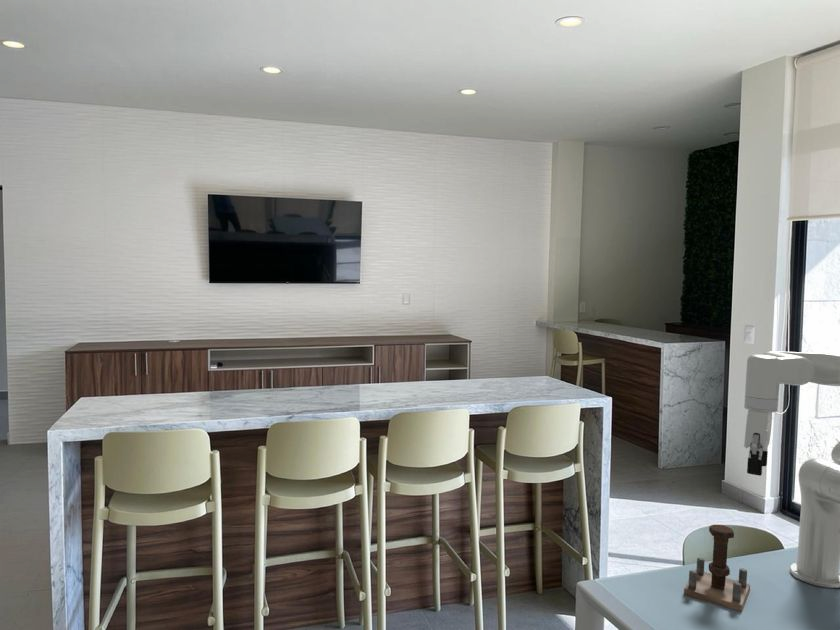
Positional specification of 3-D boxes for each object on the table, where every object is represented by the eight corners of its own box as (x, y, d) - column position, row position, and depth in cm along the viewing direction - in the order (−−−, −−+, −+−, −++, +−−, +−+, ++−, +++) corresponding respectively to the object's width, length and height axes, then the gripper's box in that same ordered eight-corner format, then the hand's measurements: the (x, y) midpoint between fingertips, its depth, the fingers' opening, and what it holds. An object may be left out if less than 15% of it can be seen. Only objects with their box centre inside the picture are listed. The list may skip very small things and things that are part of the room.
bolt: (732, 593, 156) (736, 534, 155) (710, 590, 157) (714, 531, 156) (725, 582, 162) (729, 524, 161) (704, 579, 163) (707, 522, 162)
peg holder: (695, 575, 169) (696, 554, 168) (749, 590, 161) (751, 569, 161) (683, 594, 158) (685, 573, 158) (741, 611, 151) (743, 589, 150)
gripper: (749, 396, 170) (745, 459, 172) (739, 406, 156) (735, 475, 157) (781, 400, 166) (777, 464, 167) (773, 411, 152) (769, 481, 153)
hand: (757, 469), depth 162 cm, fingers open, 9 cm apart
